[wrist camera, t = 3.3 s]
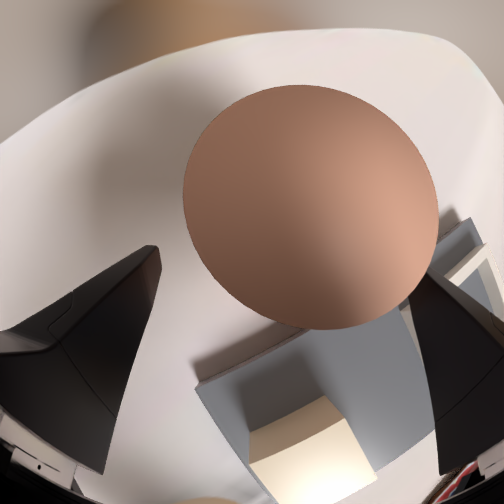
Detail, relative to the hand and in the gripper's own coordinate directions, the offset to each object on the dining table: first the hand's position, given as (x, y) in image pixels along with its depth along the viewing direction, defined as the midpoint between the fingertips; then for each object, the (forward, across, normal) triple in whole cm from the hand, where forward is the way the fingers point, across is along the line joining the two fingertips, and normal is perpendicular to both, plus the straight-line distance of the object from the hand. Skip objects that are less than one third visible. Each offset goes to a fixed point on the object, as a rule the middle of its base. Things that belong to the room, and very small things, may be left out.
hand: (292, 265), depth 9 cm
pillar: (+7, 0, +6) cm, 9 cm away
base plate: (+2, -9, +10) cm, 13 cm away
